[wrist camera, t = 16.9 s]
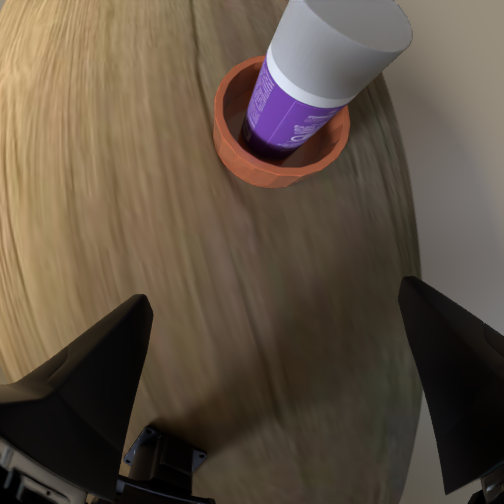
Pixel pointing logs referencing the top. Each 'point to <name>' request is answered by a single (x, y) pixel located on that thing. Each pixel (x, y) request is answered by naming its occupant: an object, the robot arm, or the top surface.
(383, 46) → the container
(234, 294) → the top surface
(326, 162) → the orange-brown bowl
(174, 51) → the top surface
